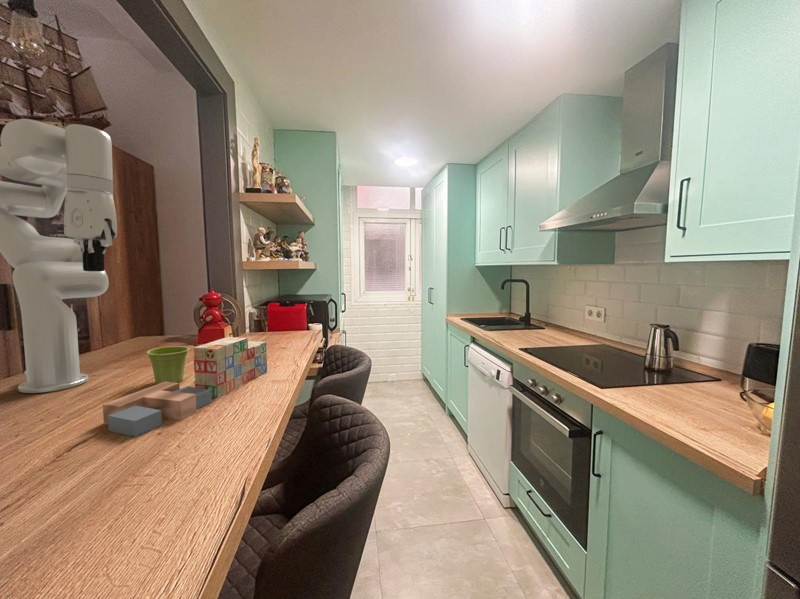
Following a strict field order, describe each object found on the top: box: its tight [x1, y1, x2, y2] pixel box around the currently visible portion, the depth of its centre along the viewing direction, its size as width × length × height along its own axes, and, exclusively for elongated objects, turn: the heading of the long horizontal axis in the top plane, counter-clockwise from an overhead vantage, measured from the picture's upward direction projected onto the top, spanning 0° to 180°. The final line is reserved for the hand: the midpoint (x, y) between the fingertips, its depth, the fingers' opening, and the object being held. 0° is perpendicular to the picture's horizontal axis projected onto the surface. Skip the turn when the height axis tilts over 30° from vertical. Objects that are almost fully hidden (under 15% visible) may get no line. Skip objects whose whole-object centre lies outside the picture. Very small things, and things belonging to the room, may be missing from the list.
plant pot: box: [146, 345, 190, 385], centre depth 91 cm, size 9×9×9 cm
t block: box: [102, 382, 197, 425], centre depth 72 cm, size 13×14×4 cm
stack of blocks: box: [193, 336, 268, 399], centre depth 92 cm, size 21×6×12 cm, turn 170°
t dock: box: [107, 385, 213, 438], centre depth 71 cm, size 7×17×3 cm, turn 163°
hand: (93, 270), depth 76 cm, fingers closed
